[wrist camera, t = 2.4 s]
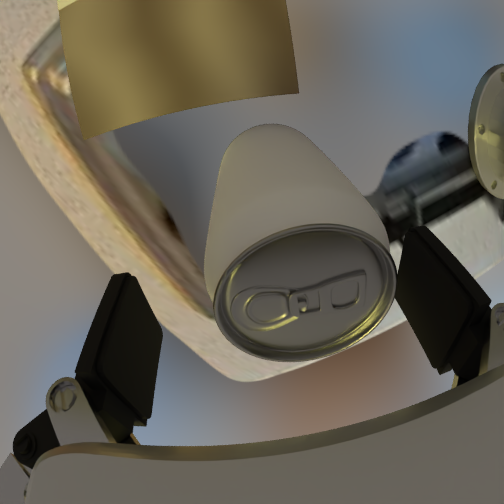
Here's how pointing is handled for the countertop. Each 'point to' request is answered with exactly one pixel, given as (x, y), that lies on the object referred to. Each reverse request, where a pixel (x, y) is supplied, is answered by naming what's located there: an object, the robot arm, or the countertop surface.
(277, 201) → the can
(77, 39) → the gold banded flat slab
